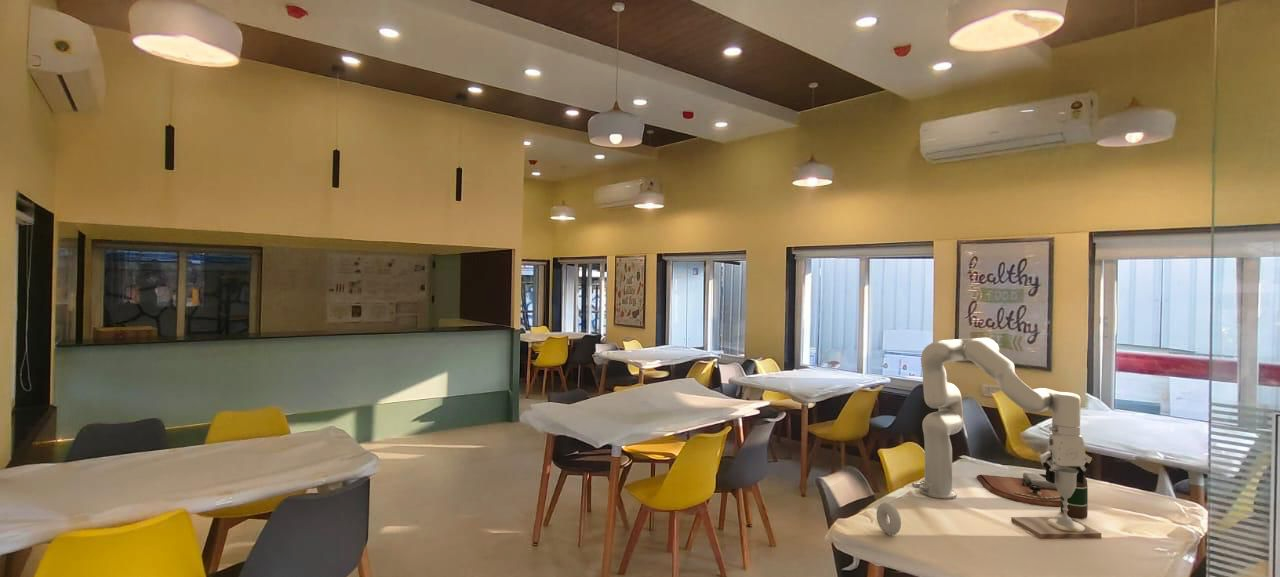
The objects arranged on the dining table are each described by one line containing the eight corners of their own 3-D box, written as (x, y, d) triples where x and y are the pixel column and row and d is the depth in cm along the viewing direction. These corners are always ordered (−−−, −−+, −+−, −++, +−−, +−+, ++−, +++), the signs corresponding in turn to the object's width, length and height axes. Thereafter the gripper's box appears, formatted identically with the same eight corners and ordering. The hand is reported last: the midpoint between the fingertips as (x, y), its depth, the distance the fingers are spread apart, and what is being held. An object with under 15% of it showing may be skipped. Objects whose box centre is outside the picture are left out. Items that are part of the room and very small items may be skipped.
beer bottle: (1058, 515, 207) (1058, 447, 208) (1062, 509, 213) (1062, 443, 213) (1086, 521, 202) (1086, 451, 202) (1088, 515, 208) (1088, 447, 208)
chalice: (1055, 518, 199) (1055, 464, 199) (1079, 523, 195) (1080, 469, 194) (1050, 524, 194) (1050, 469, 194) (1075, 530, 189) (1076, 474, 189)
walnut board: (1040, 538, 188) (1040, 532, 188) (1011, 521, 202) (1011, 515, 202) (1101, 538, 188) (1101, 531, 188) (1068, 520, 202) (1068, 514, 202)
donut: (903, 539, 187) (903, 508, 187) (894, 540, 186) (894, 509, 186) (883, 527, 196) (883, 497, 196) (874, 528, 195) (874, 498, 195)
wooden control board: (1061, 473, 240) (1094, 498, 212) (1061, 486, 240) (1094, 512, 212) (976, 466, 250) (996, 489, 221) (976, 478, 250) (996, 503, 221)
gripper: (1048, 433, 190) (1047, 485, 191) (1100, 433, 191) (1099, 486, 191) (1032, 427, 198) (1031, 478, 198) (1082, 427, 198) (1081, 478, 199)
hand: (1064, 482), depth 195 cm, fingers open, 9 cm apart
